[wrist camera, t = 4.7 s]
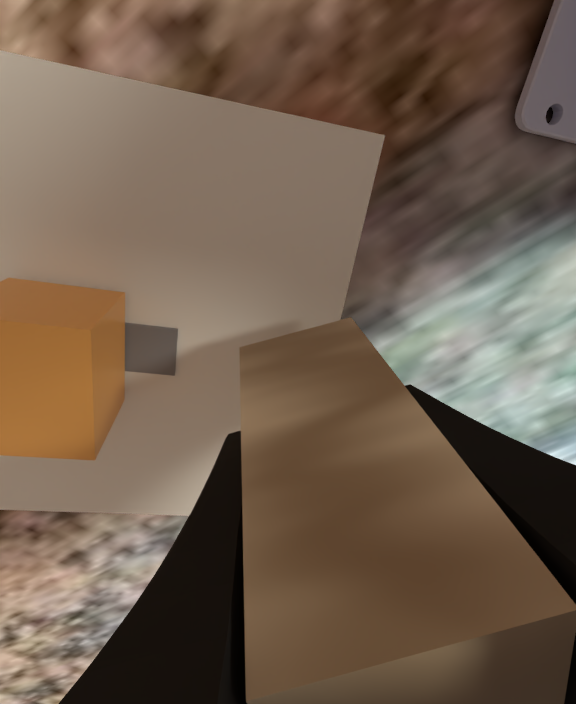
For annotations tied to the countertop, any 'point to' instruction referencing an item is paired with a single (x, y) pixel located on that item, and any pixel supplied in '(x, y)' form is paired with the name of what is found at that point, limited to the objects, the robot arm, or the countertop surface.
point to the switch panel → (171, 257)
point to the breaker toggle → (59, 368)
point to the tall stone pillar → (379, 545)
